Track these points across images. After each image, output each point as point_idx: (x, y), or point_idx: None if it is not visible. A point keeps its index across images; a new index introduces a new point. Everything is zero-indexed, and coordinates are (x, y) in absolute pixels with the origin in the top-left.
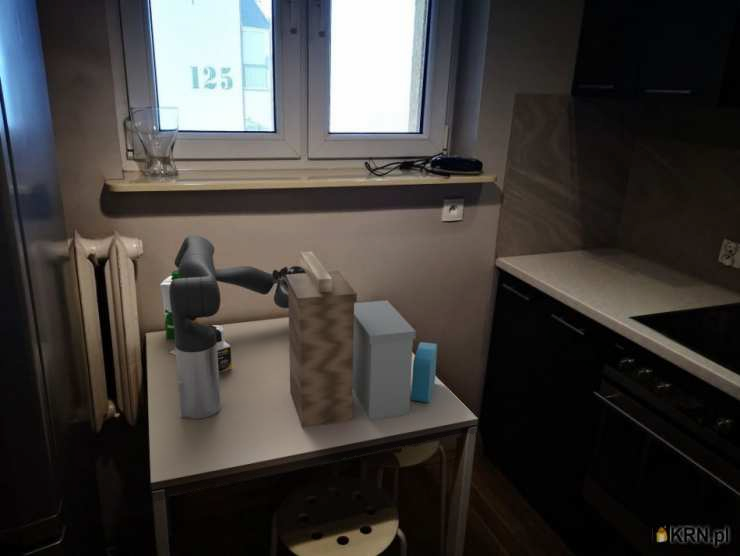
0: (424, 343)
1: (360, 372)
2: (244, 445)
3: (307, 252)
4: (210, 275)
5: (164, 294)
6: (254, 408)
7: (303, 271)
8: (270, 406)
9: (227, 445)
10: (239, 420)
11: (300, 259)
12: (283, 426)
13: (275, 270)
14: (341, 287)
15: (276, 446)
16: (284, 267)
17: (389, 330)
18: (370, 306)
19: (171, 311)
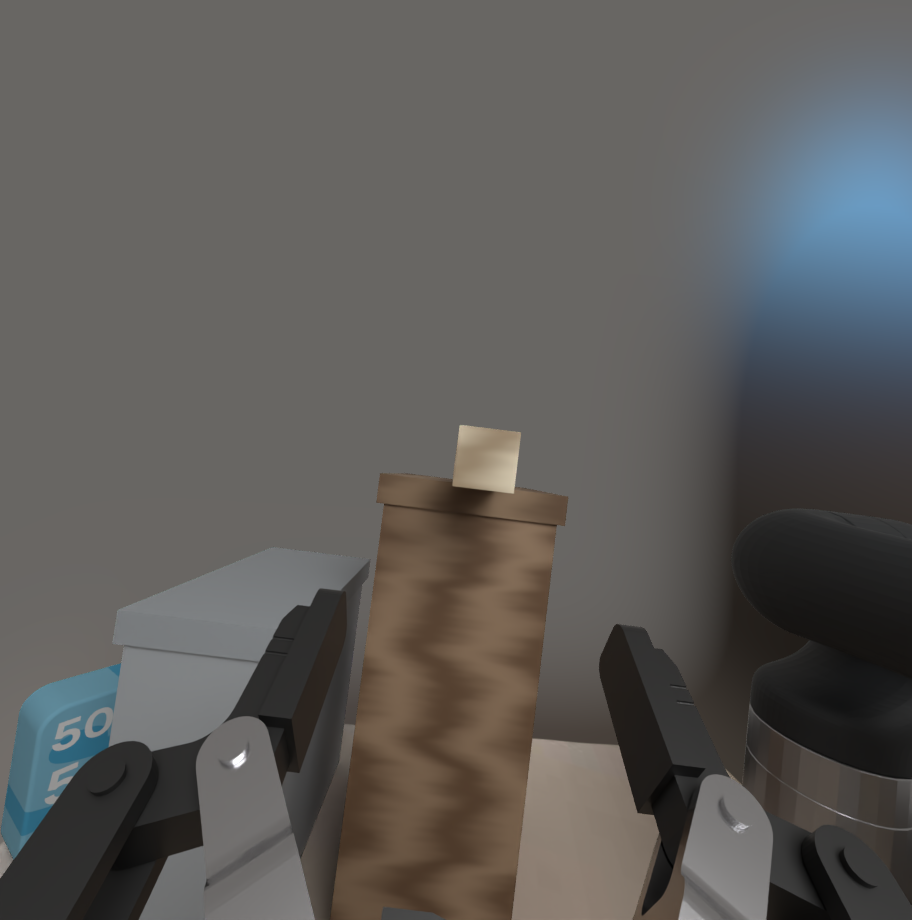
0: (70, 696)
1: (325, 730)
2: (596, 776)
3: (484, 429)
4: (831, 519)
5: None
6: (617, 910)
7: (390, 916)
8: (568, 903)
9: None
10: (640, 862)
11: (515, 469)
12: (525, 803)
13: (827, 826)
14: (425, 476)
15: (535, 756)
16: (646, 641)
17: (318, 556)
18: (238, 604)
19: None
